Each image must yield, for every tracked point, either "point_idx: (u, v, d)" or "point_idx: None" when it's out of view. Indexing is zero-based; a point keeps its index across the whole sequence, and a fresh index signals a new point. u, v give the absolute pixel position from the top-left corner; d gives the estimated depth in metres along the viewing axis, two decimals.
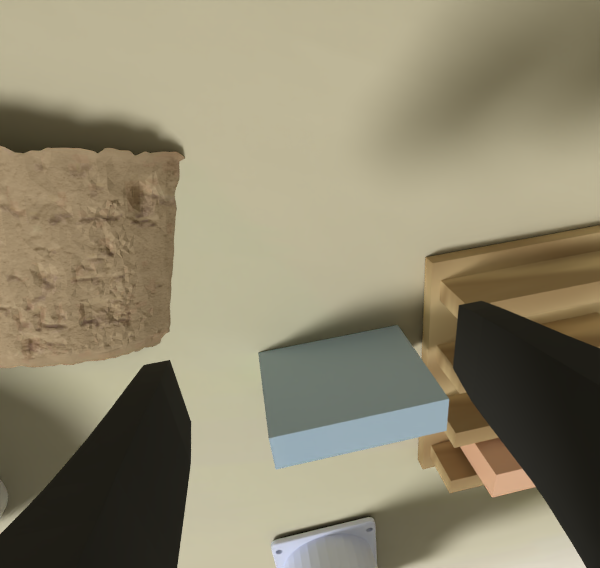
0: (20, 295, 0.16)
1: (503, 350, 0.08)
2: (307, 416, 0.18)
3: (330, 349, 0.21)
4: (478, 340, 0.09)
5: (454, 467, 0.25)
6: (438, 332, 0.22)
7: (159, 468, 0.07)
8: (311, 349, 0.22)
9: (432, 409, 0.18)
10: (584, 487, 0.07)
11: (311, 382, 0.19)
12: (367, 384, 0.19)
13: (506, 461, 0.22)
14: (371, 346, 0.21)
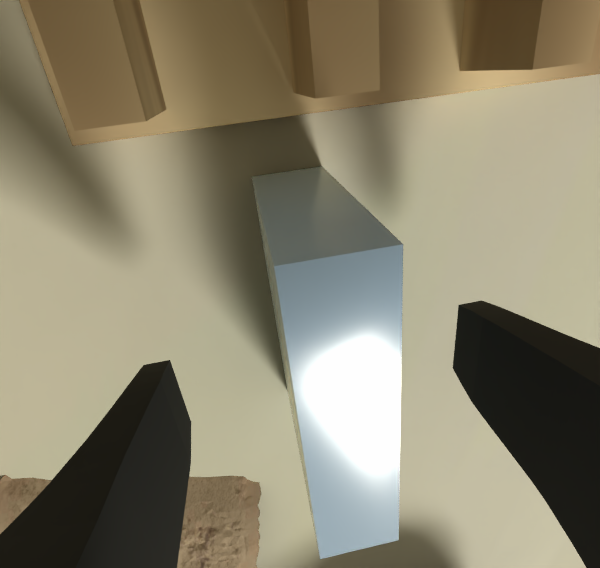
0: None
1: (503, 350, 0.08)
2: (307, 486, 0.10)
3: (276, 320, 0.12)
4: (478, 340, 0.09)
5: None
6: (256, 95, 0.09)
7: (159, 468, 0.07)
8: (279, 339, 0.13)
9: (308, 303, 0.06)
10: (584, 487, 0.07)
11: (292, 406, 0.11)
12: (284, 354, 0.09)
13: None
14: None
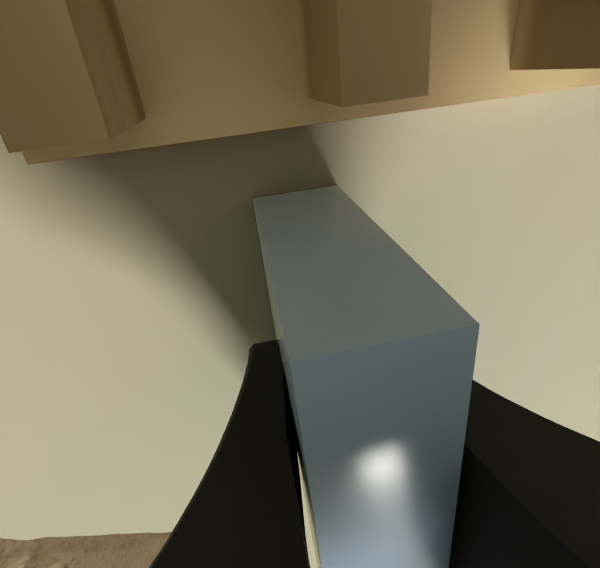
0: None
1: None
2: None
3: None
4: None
5: None
6: (259, 100, 0.08)
7: (291, 440, 0.08)
8: None
9: (338, 407, 0.04)
10: None
11: (302, 479, 0.09)
12: (296, 432, 0.07)
13: None
14: (271, 304, 0.09)
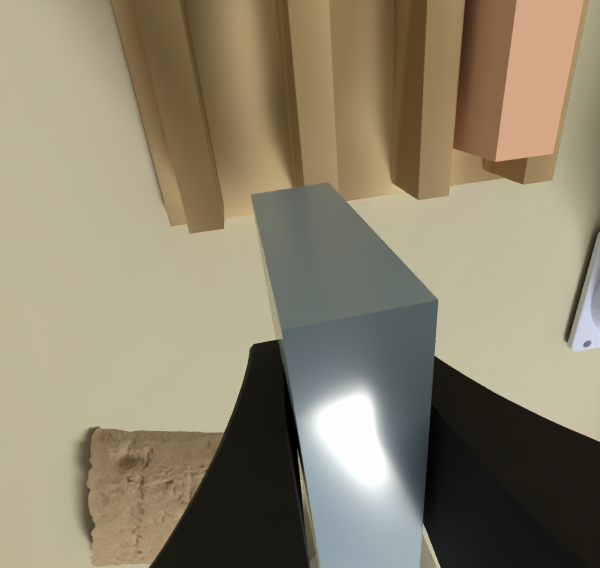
0: None
1: None
2: (315, 547, 0.09)
3: None
4: None
5: (512, 163, 0.16)
6: None
7: (291, 440, 0.08)
8: None
9: (322, 369, 0.05)
10: (445, 521, 0.07)
11: None
12: None
13: (488, 127, 0.13)
14: (268, 291, 0.10)
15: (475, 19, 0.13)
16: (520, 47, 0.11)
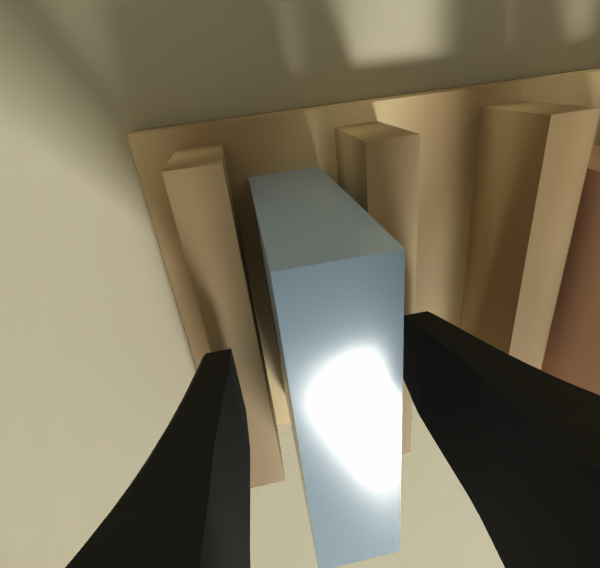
0: None
1: (439, 363, 0.08)
2: None
3: None
4: (420, 352, 0.09)
5: None
6: None
7: (234, 452, 0.08)
8: None
9: (305, 310, 0.06)
10: (508, 505, 0.07)
11: (289, 413, 0.11)
12: (282, 361, 0.09)
13: None
14: None
15: (572, 278, 0.11)
16: None
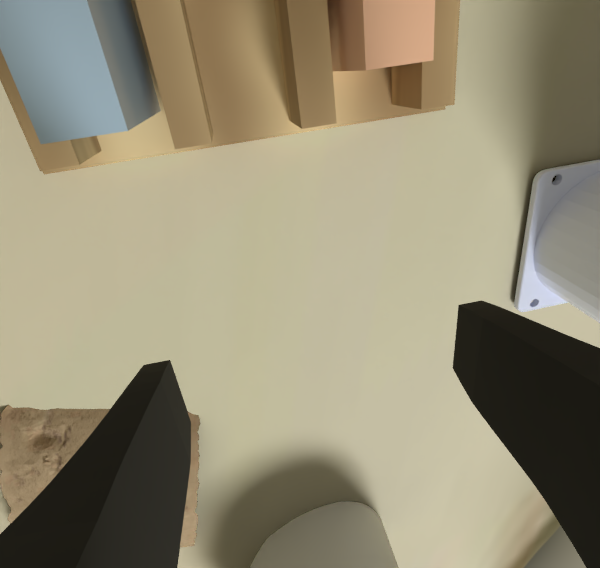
0: None
1: (503, 350, 0.08)
2: None
3: None
4: (478, 340, 0.09)
5: (411, 87, 0.14)
6: (158, 140, 0.15)
7: (159, 468, 0.07)
8: None
9: None
10: (584, 487, 0.07)
11: None
12: None
13: (357, 31, 0.11)
14: None
15: None
16: None
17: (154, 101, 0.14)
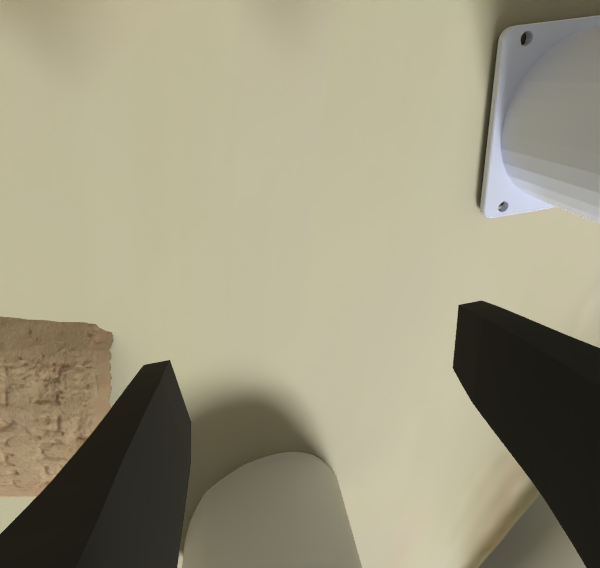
0: (24, 440, 0.19)
1: (503, 350, 0.08)
2: None
3: None
4: (478, 340, 0.09)
5: None
6: None
7: (159, 469, 0.07)
8: None
9: None
10: (584, 487, 0.07)
11: None
12: None
13: None
14: None
15: None
16: None
17: None
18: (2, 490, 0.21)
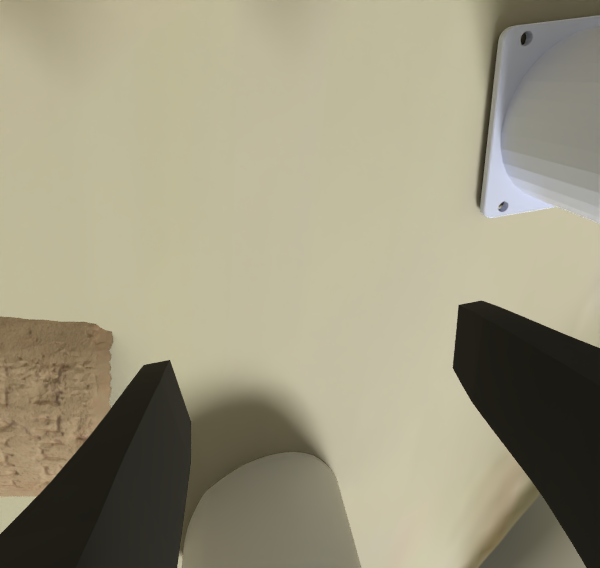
0: (24, 441, 0.19)
1: (503, 350, 0.08)
2: None
3: None
4: (478, 340, 0.09)
5: None
6: None
7: (159, 469, 0.07)
8: None
9: None
10: (584, 487, 0.07)
11: None
12: None
13: None
14: None
15: None
16: None
17: None
18: (2, 490, 0.22)
